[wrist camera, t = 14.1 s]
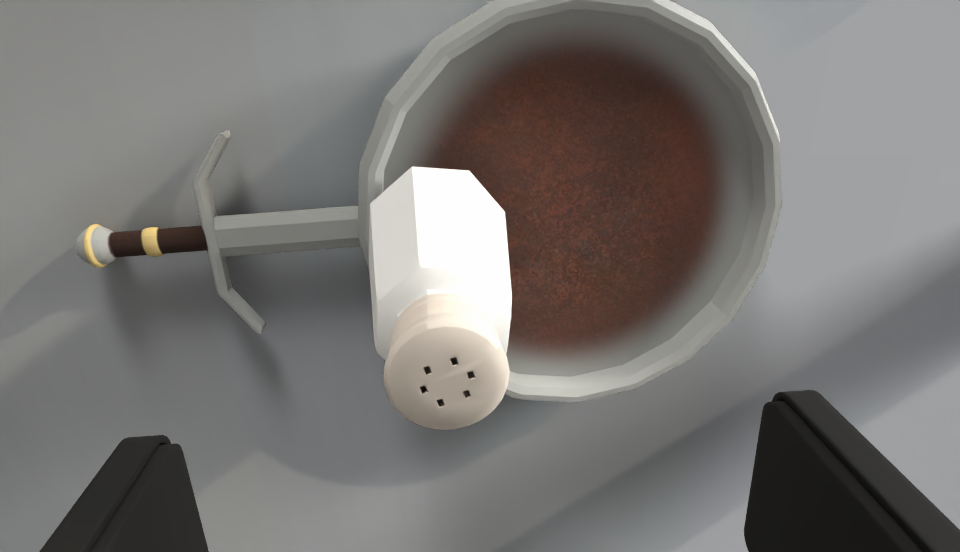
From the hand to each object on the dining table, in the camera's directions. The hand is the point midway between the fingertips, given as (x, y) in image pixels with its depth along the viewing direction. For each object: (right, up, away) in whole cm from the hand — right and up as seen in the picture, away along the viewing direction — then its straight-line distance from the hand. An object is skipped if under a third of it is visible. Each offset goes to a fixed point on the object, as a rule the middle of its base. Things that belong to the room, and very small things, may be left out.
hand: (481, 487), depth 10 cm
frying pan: (-2, +6, +17) cm, 18 cm away
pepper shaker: (-2, +5, +14) cm, 15 cm away
